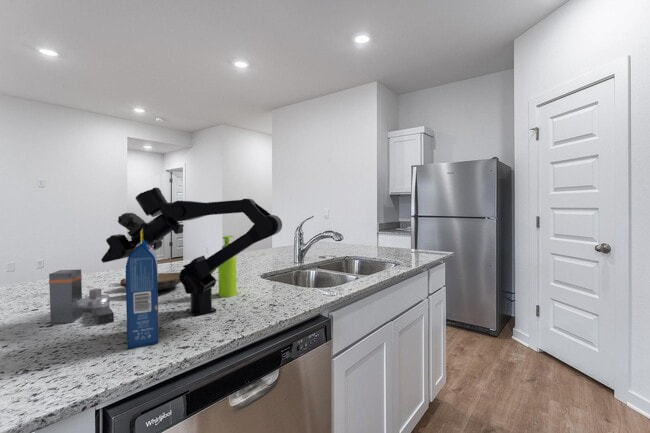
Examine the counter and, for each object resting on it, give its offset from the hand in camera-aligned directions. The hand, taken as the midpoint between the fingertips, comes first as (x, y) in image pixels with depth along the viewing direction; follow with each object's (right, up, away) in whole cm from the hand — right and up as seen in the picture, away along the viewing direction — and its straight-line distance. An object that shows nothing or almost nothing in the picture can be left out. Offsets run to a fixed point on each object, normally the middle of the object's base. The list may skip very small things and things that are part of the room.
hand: (113, 258), depth 96 cm
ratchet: (-2, -15, -3) cm, 16 cm away
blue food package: (+19, -16, -19) cm, 31 cm away
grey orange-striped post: (-7, -15, -8) cm, 19 cm away
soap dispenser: (+28, -15, +17) cm, 36 cm away
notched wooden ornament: (-1, -15, +26) cm, 30 cm away
